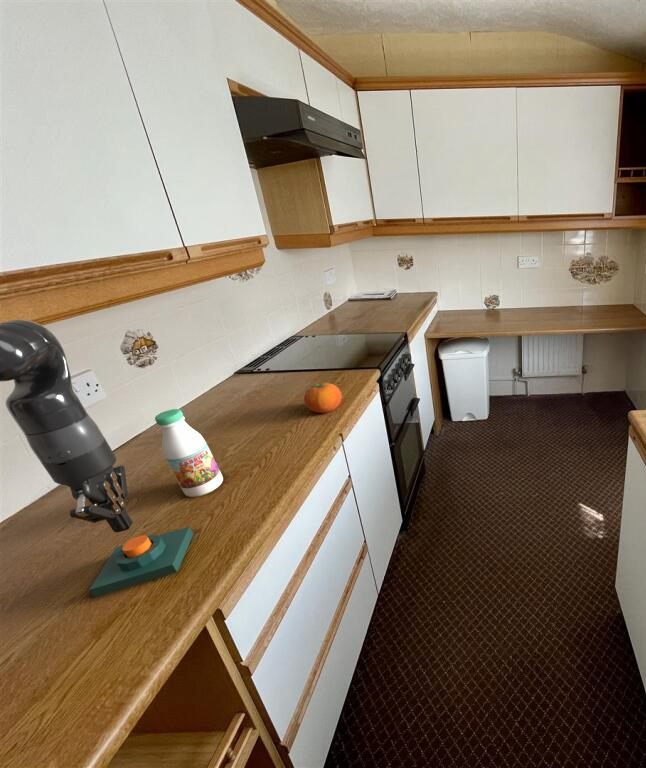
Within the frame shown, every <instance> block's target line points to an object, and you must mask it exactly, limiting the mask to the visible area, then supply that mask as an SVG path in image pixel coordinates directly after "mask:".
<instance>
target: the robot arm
mask: <svg viewBox="0 0 646 768" xmlns="http://www.w3.org/2000/svg"><path fill="white" fill-rule="evenodd" d="M10 381H13V384H14V388H13V390H12V391H11V392H10V394H9V395H8V396H7V398H6V400H5V407H6V409H7V411H8V413H9V414H10V416H11V417H12V419H13V420H14V421H15V423H16V424H17V426H18V427H19V429H20V430H21V432H22V434H23V435H24V436H25V438H26V441H27V443H28V445H29V447H30V449H31V450H32V452H33V453H34V455H35V456H36V458H37V460H39V462H40V463H41V465H42V466H43V468H44V469H45V471H46V472H47V474H48V475H49V476H50V478H51V479H52V481H53V482H54V483H55V484H57V485H63V486H67V487H69V489H70V491H71V496H72V497H73V499H74V500H77V501H76V508H72V509H70V510H69V516H70V517H71V518H72V519H73V518H74V519H78V520H82V521H85V522H89V523H94V524H95V523H98V522H103V521H106V522H107V524H108V525H109V527H110V528H111V530H112V531H113V532H114V533H121V532H125V531H128V530H130V528H131V526H132V525H133V523H134V522H133V520H132V518H131V516H130V515H129V513H128V512H127V510H126V509H125V507H126V502H125V499H128V497H129V495H128V493H129V492H128V485H127V476H126V475H127V474H126V468H125V467H126V466H124V465H118V466H115V464H116V462H117V457H116V454H115V453H114V451H113V450H112V448H111V446H110V444H109V443H108V441H107V439H106V437H105V436H104V434H103V433H102V431H101V430H100V428H99V426H98V425H97V423H96V421H94V419H93V418H92V417H91V416H90V414H89V413H88V412H87V410H86V408H85V406H84V405H83V403H82V402H81V400H80V399H79V396H78V395H77V393H76V392H75V391H74V388H73V382H72V376H71V372H70V369H69V364H68V361H67V357H66V353H65V351H64V348H63V346H62V344H61V343H60V341H59V339H58V338H57V337H56V335H54V334H53V332H52V331H50V330H49V329H48V328H47V327H45V326H44V325H41V324H40V323H38V322H35V321H32V320H27V319H9V320H6V321H3V322H0V382H10Z"/></svg>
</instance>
